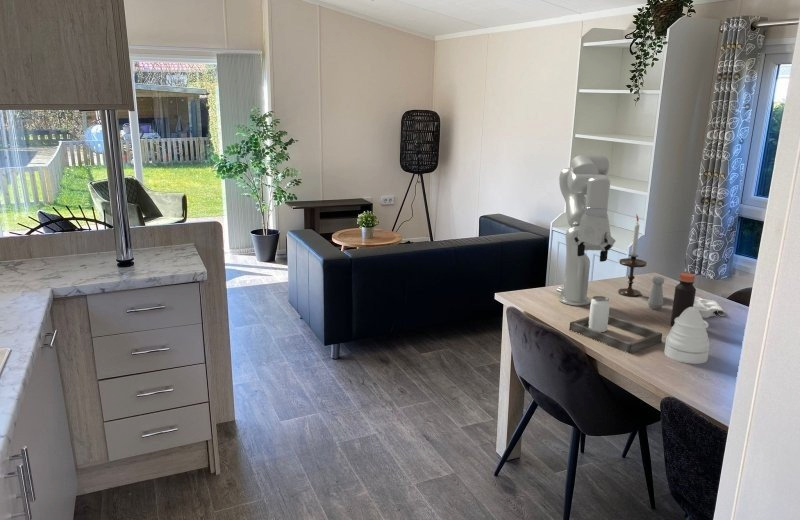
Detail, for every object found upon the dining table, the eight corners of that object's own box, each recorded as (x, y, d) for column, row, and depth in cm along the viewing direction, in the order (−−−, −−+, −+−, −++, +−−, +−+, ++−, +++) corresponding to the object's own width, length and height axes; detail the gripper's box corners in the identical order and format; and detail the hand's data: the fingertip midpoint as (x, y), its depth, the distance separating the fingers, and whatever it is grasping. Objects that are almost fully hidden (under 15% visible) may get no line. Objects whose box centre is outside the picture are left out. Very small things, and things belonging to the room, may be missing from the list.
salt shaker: (660, 306, 239) (664, 275, 235) (664, 310, 233) (668, 279, 230) (645, 305, 239) (648, 274, 236) (649, 310, 234) (653, 279, 230)
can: (607, 327, 215) (610, 296, 212) (606, 334, 209) (610, 302, 206) (588, 325, 217) (591, 294, 214) (588, 331, 211) (591, 300, 208)
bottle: (674, 321, 221) (681, 271, 216) (693, 326, 217) (700, 274, 211) (667, 326, 217) (674, 274, 212) (686, 331, 212) (693, 278, 207)
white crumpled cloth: (727, 320, 224) (685, 317, 228) (714, 305, 241) (676, 302, 244) (728, 312, 223) (686, 309, 227) (716, 297, 240) (677, 294, 244)
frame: (569, 330, 212) (569, 322, 212) (600, 320, 223) (600, 312, 222) (630, 353, 193) (631, 345, 192) (661, 341, 203) (662, 333, 202)
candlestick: (611, 293, 254) (619, 213, 245) (623, 288, 261) (632, 210, 252) (635, 299, 247) (645, 217, 238) (647, 293, 254) (657, 214, 245)
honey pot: (716, 361, 188) (725, 308, 183) (683, 365, 184) (691, 311, 180) (687, 345, 200) (694, 295, 195) (655, 349, 196) (662, 298, 192)
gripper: (569, 209, 214) (565, 255, 219) (610, 216, 201) (605, 264, 205) (582, 207, 219) (578, 252, 223) (623, 214, 205) (618, 261, 209)
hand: (591, 258), depth 214 cm, fingers open, 9 cm apart
